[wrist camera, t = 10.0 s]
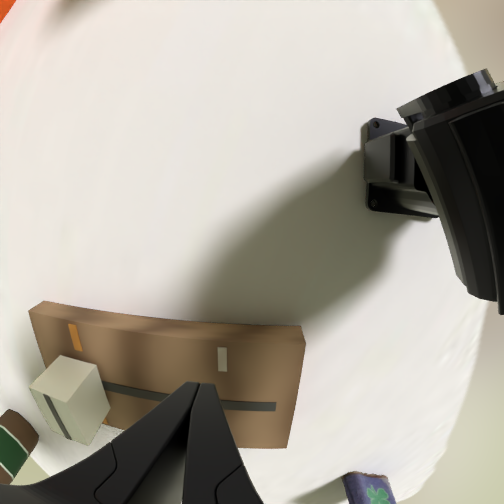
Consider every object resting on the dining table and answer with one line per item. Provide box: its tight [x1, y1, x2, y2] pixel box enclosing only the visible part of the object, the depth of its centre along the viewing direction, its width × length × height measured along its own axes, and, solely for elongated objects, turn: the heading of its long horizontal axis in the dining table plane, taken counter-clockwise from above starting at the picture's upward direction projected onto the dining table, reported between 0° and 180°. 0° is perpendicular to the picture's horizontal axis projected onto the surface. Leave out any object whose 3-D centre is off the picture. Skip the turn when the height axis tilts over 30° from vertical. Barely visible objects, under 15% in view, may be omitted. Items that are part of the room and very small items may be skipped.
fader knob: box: [29, 355, 110, 446], centre depth 16 cm, size 4×5×5 cm
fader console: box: [28, 301, 306, 449], centre depth 20 cm, size 23×12×3 cm, turn 88°
